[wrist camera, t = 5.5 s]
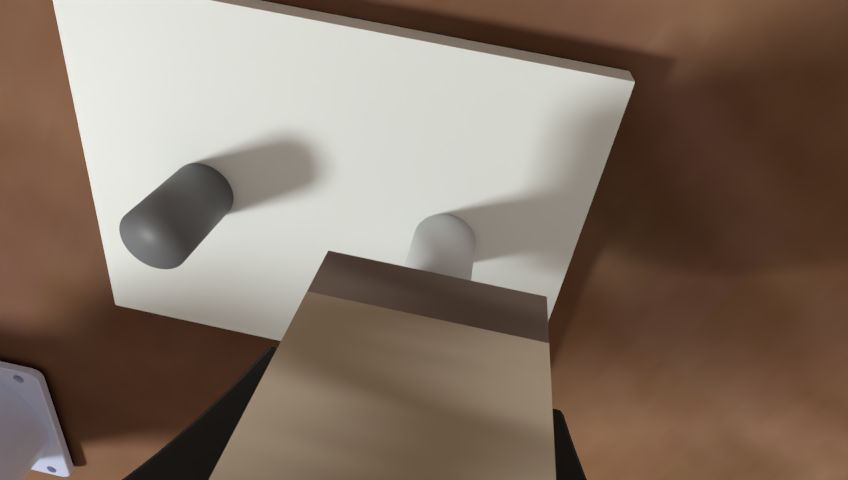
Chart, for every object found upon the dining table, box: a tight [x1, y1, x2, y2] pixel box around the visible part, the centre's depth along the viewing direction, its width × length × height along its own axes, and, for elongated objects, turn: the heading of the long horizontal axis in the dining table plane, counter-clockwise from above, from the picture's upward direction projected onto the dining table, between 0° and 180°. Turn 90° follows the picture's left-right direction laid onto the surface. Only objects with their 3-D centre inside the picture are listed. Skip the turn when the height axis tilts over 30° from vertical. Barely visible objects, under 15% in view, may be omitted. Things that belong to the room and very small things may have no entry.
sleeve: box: [209, 251, 556, 480], centre depth 12 cm, size 5×5×6 cm
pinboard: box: [53, 0, 635, 341], centre depth 17 cm, size 16×12×4 cm
